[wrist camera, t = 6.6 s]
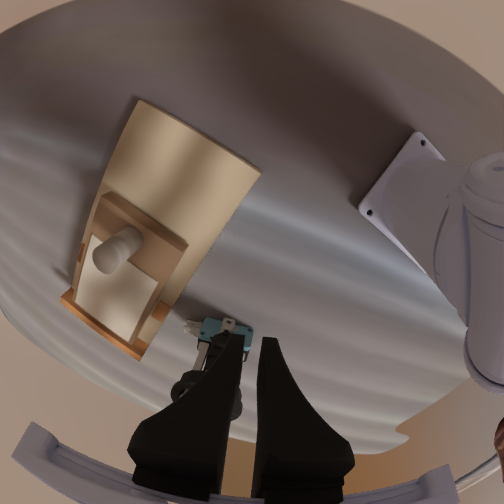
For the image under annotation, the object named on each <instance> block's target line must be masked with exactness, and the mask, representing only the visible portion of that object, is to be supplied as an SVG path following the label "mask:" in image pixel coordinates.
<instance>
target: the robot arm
mask: <svg viewBox="0 0 504 504" xmlns="http://www.w3.org/2000/svg"><path fill="white" fill-rule="evenodd" d="M421 140H423V141H424V145H423V146H422V145H421ZM368 210H372V213H371V214H370V215H367V211H368ZM358 211H359V212H360V213H361V214H362V215H363V216H364V217H365V218H366V219H368V220H369V221H370V222H371V223H372V224H373V225H374V226H376V227H377V228H378V229H379V230H380V231H381V232H382V233H383V234H385V235H386V236H387V237H388V238H389V239H390V240H391V241H392V242H393V243H394V244H395V245H396V246H398V247H399V248H400V249H401V250H402V251H403V252H404V253H405V254H406V255H407V256H408V257H409V258H410V259H411V260H412V261H413V262H414V263H415V264H416V265H417V266H418V267H419V268H420V269H421V270H422V271H423V272H424V273H425V274H426V275H428V276H429V277H430V278H431V279H432V280H433V282H434V283H435V284H436V285H437V287H438V288H439V289H440V290H441V292H442V293H443V294H444V296H445V297H446V298H447V299H448V301H449V302H450V303H451V304H452V305H453V306H454V307H455V308H456V309H457V310H458V315H459V317H460V318H461V319H462V321H463V322H464V324H465V325H466V326H467V327H468V330H467V332H466V336H465V341H464V360H465V364H466V367H467V369H468V371H469V373H470V375H471V376H472V378H473V379H474V380H475V382H477V383H478V384H479V385H480V386H481V387H482V388H484V389H486V390H487V391H489V392H492V393H495V394H498V395H504V151H501V152H496V153H492V154H489V155H486V156H484V157H482V158H480V159H478V160H476V161H475V162H474V163H473V164H472V165H471V166H470V167H466V166H463V165H459V164H455V163H451V162H448V161H446V160H445V159H444V158H443V156H442V155H441V154H440V153H439V152H438V151H437V150H436V148H435V147H434V146H433V145H432V144H431V143H430V142H429V141H428V139H427V138H426V137H425V136H424V135H423V134H422V133H421V132H414V133H413V134H412V135H411V137H410V138H409V139H408V141H407V142H406V143H405V145H404V146H403V148H402V149H401V150H400V152H399V153H398V154H397V156H396V157H395V158H394V160H393V161H392V162H391V164H390V165H389V166H388V168H387V169H386V170H385V172H384V173H383V174H382V175H381V177H380V178H379V179H378V181H377V182H376V183H375V184H374V186H373V187H372V188H371V190H370V191H369V192H368V193H367V195H366V196H365V197H364V198H363V200H362V201H361V202H360V203H359V205H358ZM244 343H245V335H242V334H234V333H232V334H230V335H229V338H228V340H227V342H226V344H225V346H224V347H223V349H222V351H221V352H220V354H219V355H218V357H217V358H216V360H215V361H214V362H213V364H212V365H211V366H210V367H209V369H208V370H207V371H206V372H205V374H204V375H203V376H202V377H201V378H200V379H199V380H198V381H197V382H196V383H195V384H194V385H193V386H192V387H191V388H190V389H189V390H188V391H187V392H186V393H184V394H183V395H182V396H181V397H180V398H178V399H177V400H176V401H174V402H173V403H172V404H170V405H169V406H167V407H166V408H164V409H163V410H161V411H160V412H158V413H156V414H155V415H153V416H151V417H149V418H147V419H145V420H144V421H142V422H141V423H140V424H139V426H138V427H137V429H136V431H135V432H134V434H133V436H132V438H131V440H130V443H129V446H128V449H127V451H128V453H129V455H130V457H131V458H132V459H133V461H134V462H135V464H136V468H135V471H134V474H130V473H127V472H125V471H122V470H119V469H117V468H114V467H111V466H109V465H106V464H104V463H102V462H99V461H97V460H94V459H92V458H90V457H88V456H86V455H84V454H82V453H79V452H77V451H75V450H73V449H71V448H70V447H68V446H66V445H64V444H62V443H60V442H58V440H57V438H56V437H55V436H54V435H53V434H51V433H50V432H49V431H47V430H46V429H44V428H42V427H41V426H39V425H37V424H36V423H34V422H31V423H30V425H29V426H28V428H27V430H26V431H25V433H24V435H23V436H22V438H21V440H20V441H19V443H18V445H17V447H16V449H15V450H14V452H13V454H12V458H13V459H14V460H15V461H16V462H18V463H19V464H20V465H21V466H22V467H24V468H25V469H26V470H27V471H29V472H30V473H31V474H33V475H34V476H35V477H37V478H38V479H39V480H41V481H42V482H44V483H45V484H47V485H49V486H50V487H52V488H53V489H55V490H57V491H58V492H60V493H62V494H63V495H65V496H67V497H69V498H70V499H72V500H74V501H76V502H78V503H80V504H168V502H167V501H170V502H175V503H178V504H459V502H460V500H459V497H458V493H457V489H456V486H455V483H454V479H453V476H452V473H451V470H450V467H449V465H448V464H447V465H444V466H441V467H439V468H436V469H433V470H431V471H428V472H427V473H425V474H423V475H422V476H421V477H420V478H419V479H416V480H412V481H409V482H405V483H402V484H398V485H394V486H390V487H386V488H381V489H377V490H372V491H366V492H361V493H355V494H348V495H343V491H342V486H343V485H344V476H345V475H346V474H347V473H348V472H349V471H350V470H352V468H353V467H354V466H355V459H354V455H353V452H352V449H351V446H350V444H349V442H348V441H347V440H345V439H344V438H343V437H342V436H340V435H339V434H338V433H337V432H336V431H334V430H333V429H332V428H331V427H330V426H329V425H328V424H327V423H326V422H325V421H324V420H323V419H322V417H321V416H320V415H319V414H318V413H317V412H316V411H315V410H314V408H313V407H312V406H311V405H310V403H309V402H308V401H307V399H306V398H305V396H304V395H303V394H302V392H301V390H300V389H299V387H298V386H297V384H296V382H295V380H294V379H293V377H292V375H291V373H290V371H289V369H288V367H287V364H286V362H285V360H284V357H283V355H282V352H281V349H280V346H279V343H278V340H277V338H272V337H263V339H262V345H261V352H260V358H259V365H258V375H257V417H258V429H257V441H256V452H255V463H254V472H253V482H252V490H251V498H245V497H234V496H225V495H221V487H222V479H223V472H224V464H225V457H226V449H227V442H228V435H229V428H230V422H231V418H232V414H233V410H234V406H235V402H236V397H237V393H238V389H239V385H240V379H241V371H242V362H243V353H244ZM165 500H166V501H165Z"/></svg>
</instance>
